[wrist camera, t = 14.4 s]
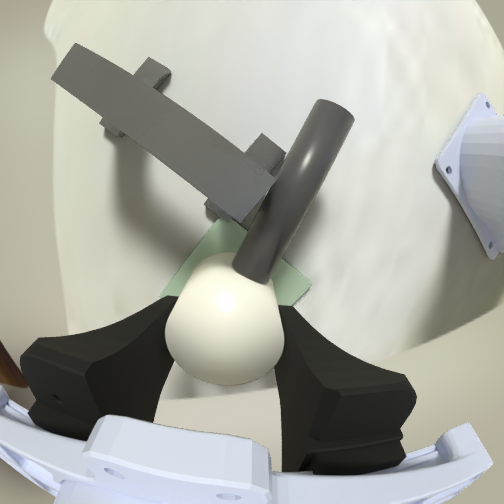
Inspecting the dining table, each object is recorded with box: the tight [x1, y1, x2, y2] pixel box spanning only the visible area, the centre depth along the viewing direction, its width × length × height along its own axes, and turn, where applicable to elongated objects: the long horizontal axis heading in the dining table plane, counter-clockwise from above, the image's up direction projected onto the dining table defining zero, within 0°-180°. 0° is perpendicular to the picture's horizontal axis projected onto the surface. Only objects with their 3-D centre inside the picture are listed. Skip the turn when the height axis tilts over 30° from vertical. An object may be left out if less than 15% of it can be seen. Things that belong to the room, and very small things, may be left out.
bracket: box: [51, 43, 286, 223], centre depth 9 cm, size 9×4×6 cm, turn 51°
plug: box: [165, 99, 355, 385], centre depth 10 cm, size 4×12×4 cm, turn 153°
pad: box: [159, 217, 312, 306], centre depth 15 cm, size 6×6×1 cm
